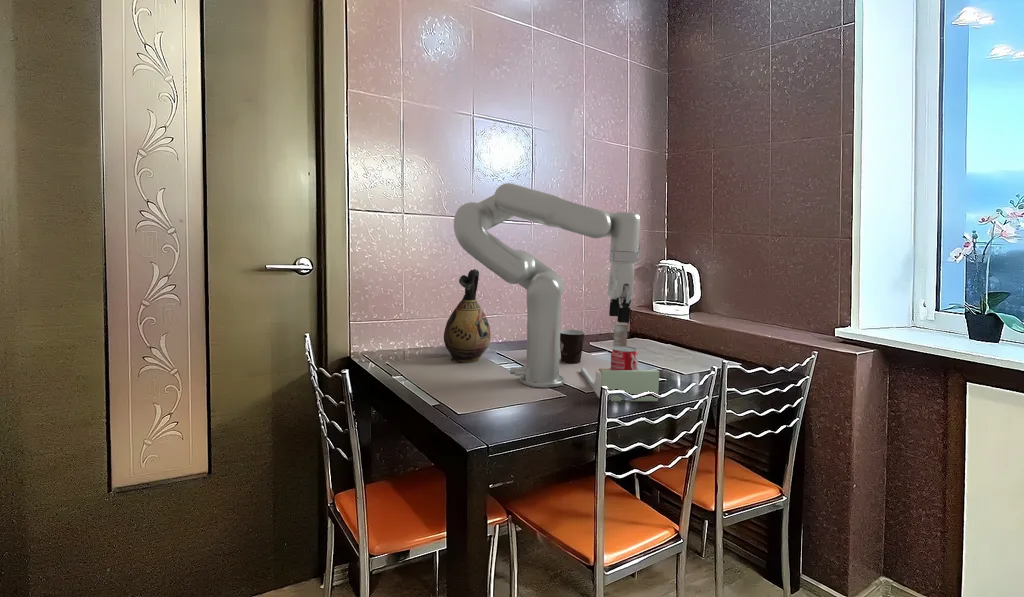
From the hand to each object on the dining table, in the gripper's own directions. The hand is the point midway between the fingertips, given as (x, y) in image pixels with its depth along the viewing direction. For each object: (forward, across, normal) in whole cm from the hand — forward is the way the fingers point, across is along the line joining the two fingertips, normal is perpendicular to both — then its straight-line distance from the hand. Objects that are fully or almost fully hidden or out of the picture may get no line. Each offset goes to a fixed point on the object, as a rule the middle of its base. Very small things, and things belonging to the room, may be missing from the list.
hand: (618, 319), depth 158 cm
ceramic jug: (+21, -32, -42) cm, 57 cm away
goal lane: (+19, -2, +1) cm, 20 cm away
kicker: (+20, +2, +1) cm, 20 cm away
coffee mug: (+20, -28, -8) cm, 35 cm away
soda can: (+20, +8, +1) cm, 21 cm away
